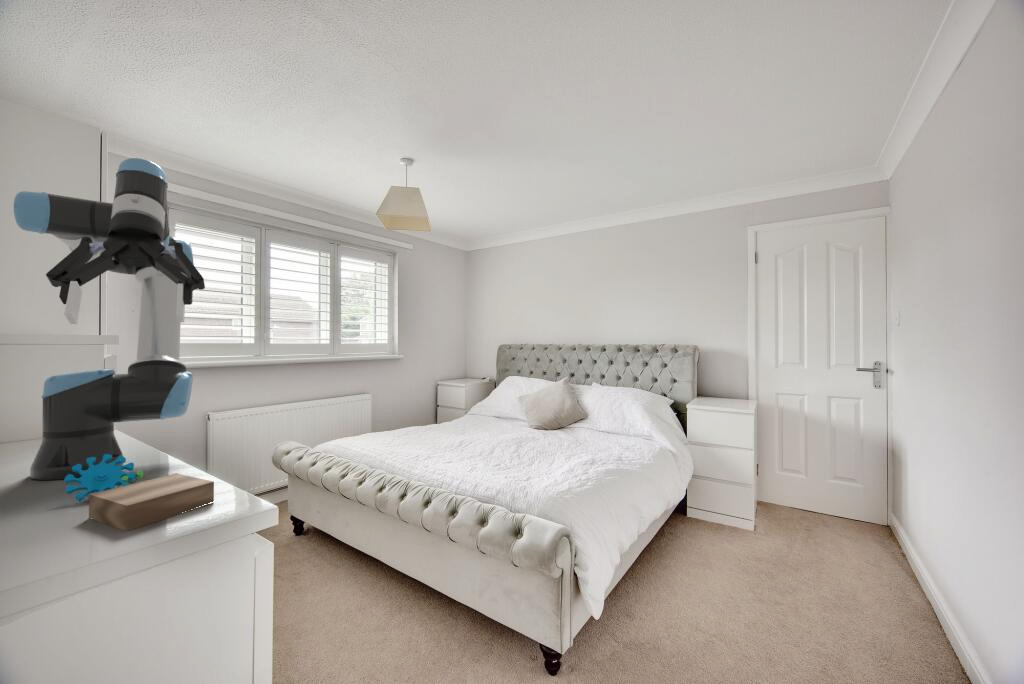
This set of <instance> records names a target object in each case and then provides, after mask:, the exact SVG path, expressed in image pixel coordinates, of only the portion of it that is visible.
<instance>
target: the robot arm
mask: <svg viewBox="0 0 1024 684" xmlns="http://www.w3.org/2000/svg"><path fill="white" fill-rule="evenodd" d="M115 178H116V179H115V188H114V189H115V190H114V195H113V202H112V203H110V202H106V201H100V200H99V201H98V200H91V199H85V198H80V197H79V198H78V197H71V196H65V195H57V194H52V193H47V192H38V191H37V192H36V191H29V190H23V191H19V192H18V193H16V195H15V196H14V199H13V214H14V219H15V223H16V225H17V226H18V227H19V228H20V229H21V230H23V231H26V232H32V233H38V234H42V235H44V234H50V235H52V236H54V237H55V238H57V239H58V240H60V241H61V242H62V243H64V244H65V245H66V246H68V248H69V250H70V253H69V254H67V256H65V257H64V258H62V260H61V261H59V262H58V263H57V264H56V265H54V267H52V268H51V269H49V270H48V272H46V274H45V276H46V278H47V280H48V281H49V283H50V285H51V286H52V287H54V288H58V287H60V290H59V295H58V296H59V299H60V301H61V302H62V304H63V305H65V308H64V316H65V318H66V319H67V321H68V322H69V325H77V324H78V319H79V315H80V314H79V313H80V308H81V303H82V302H81V301H82V297H83V290H82V288H81V287H82V286H84V285H85V284H87V283H89V282H90V281H93V280H94V279H95V278H97V277H99V276H100V275H103V274H104V273H106V272H107V271H108V272H112V273H117V274H123V275H134V276H135V279H136V281H137V282H138V283H139V284H140V285H141V295H140V307H139V308H140V310H139V321H138V338H137V339H138V340H137V352H136V360H135V361H134V362H131V364H129V365H128V367H127V373H116V371H115V369H114V368H103V369H102V368H101V369H92V370H85V371H77V372H76V371H75V372H69V373H61V374H55V375H54V374H53V375H51V376H49V377H47V378H46V379H45V380H44V383H43V392H42V396H41V399H42V440H41V444H40V446H39V448H38V450H37V452H36V454H35V456H34V459H33V461H32V464H31V466H30V469H29V470H30V471H29V473H30V475H29V478H30V479H32V480H36V479H37V480H42V481H46V480H47V481H48V480H49V481H50V480H52V481H53V480H64V479H65V477H66V476H67V475H68V474H72V475H73V476H74V477H75V478H80V477H81V475H80V474H79V473H77V472H73V471H72V467H73V466H75V465H77V464H81V465H82V470H87V469H88V468H89V465H88V464H87V462H86V459H87V458H90V457H96V462H95V463H94V464H93V465H98V464H99V463H100V462H101V461H102V460H103V456H104V455H105V454H110V455H112V459H111V460H110V461H107V462H105V463H106V464H108V463H111V462H114V461H115V460H117V459H118V457H120V456H123V457H124V454H123V452H122V450H121V449H122V448H121V447H120V444H119V443H118V440H117V438H116V436H115V432H114V431H115V428H114V427H115V426H114V425H115V423H124V422H137V421H139V422H140V421H151V420H153V421H154V420H166V419H174V418H180V417H182V416H184V415H185V414H186V413H187V411H188V408H189V404H190V399H191V395H192V394H191V393H192V389H193V388H192V387H193V386H192V385H193V381H194V380H193V379H194V378H193V377H194V374H193V373H192V372H190V371H187V366H186V364H184V363H183V362H181V361H180V357H181V356H180V355H181V354H180V353H181V352H180V350H181V346H180V345H181V323H185V311H186V310H185V309H186V305H188V306H191V305H192V304H193V295H194V293H193V291H195V290H201V291H202V290H204V289H206V284H205V280H204V279H205V278H204V277H203V275H202V274H201V273H200V272H199V270H198V269H197V268H196V267H195V264H194V256H193V250H192V245H191V243H190V241H188V240H187V239H185V238H181V237H180V238H179V237H174V236H170V225H169V217H168V216H169V215H168V210H169V208H168V207H169V206H168V195H167V193H168V192H167V191H168V188H169V186H168V177H167V174H166V172H165V171H164V170H163V169H162V167H160V165H158V164H156V163H155V162H153V161H151V160H148V159H144V158H139V157H132V158H130V157H129V158H127V159H124V160H122V161H121V162H120V164H119V166H118V168H117V172H116V173H115ZM123 465H124V463H122V464H116V466H123Z"/></svg>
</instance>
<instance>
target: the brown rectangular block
mask: <svg viewBox="0 0 1024 684" xmlns="http://www.w3.org/2000/svg"><path fill="white" fill-rule="evenodd" d="M121 486H122V485H121ZM121 486H119V487H118V486H117V487H114V489H110V490H106V491H101V492H93V493H91V494H89V495H88V519H90V518H92V519H91V520H93V519H94V520H93V521H96V520H97V521H96V522H99V523H102V524H105V525H106V526H107V525H108V526H111V527H113V528H116V529H119V530H122V531H125V532H128V531H131V530H135V529H137V528H141V527H143V526H147V525H150V524H153V523H157V522H159V521H163V520H165V519H166V520H167V519H169V518H172V517H175V516H174V515H176V516H178V515H177V514H179V515H181V514H180V513H182V512H185V511H188V510H191V509H194V508H196V507H199V506H202V505H204V504H208V503H210V502H213V501H214V502H215V482H214V481H213V480H210V479H209V480H207V479H204V478H199V477H195V476H190V475H187V474H186V475H185V474H181V473H172V474H169V475H165V476H161V477H156V478H152V479H147V480H143V481H140V482H136V483H135V484H130V485H126V486H122V487H121ZM194 510H195V509H194ZM191 511H192V510H191ZM188 512H189V511H188ZM185 513H186V512H185ZM182 514H183V513H182ZM171 516H172V517H171Z"/></svg>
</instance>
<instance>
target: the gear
mask: <svg viewBox="0 0 1024 684" xmlns="http://www.w3.org/2000/svg"><path fill="white" fill-rule="evenodd" d="M111 459H112V455H110V454H105V455H104V456H103V460H102V461H101V462H100V463H99V464H98V465H93V464H94V463H95V462H96V457H90V458H87V459H86V462H87V464H88V465H89V468H88V469H87V470H82V465H81V464H77V465H75V466H73V467H72V471H73V472H77V473H79V474H80V475H81V476H80V477H74V476H73V475H72V474H68V475H67V476H66V477H65V479H63V480H64V481H63V482H64V483H65V484H68V483H69V484H68V485H66V487H65V491H66V494H73V493H74V492H77V491H80V490H81V491H82V492H77V493H75V494H74V498H75V500H77V501H78V502H82V501H83V500H84V499H85V498H86V497H87V496H89V494H93V493H97V492H101V491H106V490H110V489H114V488H116V486H117V487H118V486H120V487H122V486H126V485H130V484H135V483H138V479H143V477H144V471H143V470H137V472H125V471H123V470H127V471H134V468H135V465H134V464H135V463H134V462H128V463H127V464H124V463H126V462H127V461H126V460H127V458H126V457H124V455H123V456H120V457H118V459H117V460H115V461H114V462H111V463H108V464H106V463H105V462H107V461H110V460H111ZM122 463H123V465H121V466H116V464H122ZM71 483H77V484H80V485H74V484H71ZM85 490H86V491H85Z"/></svg>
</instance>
